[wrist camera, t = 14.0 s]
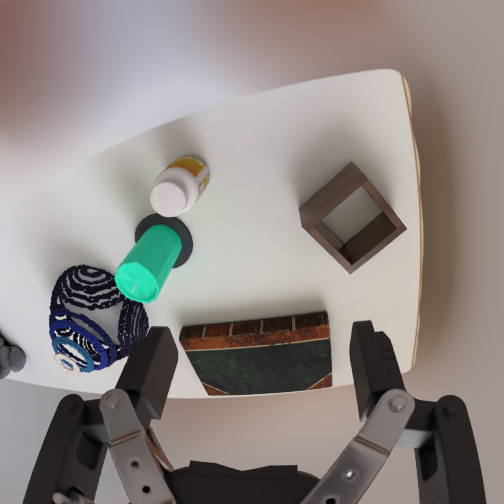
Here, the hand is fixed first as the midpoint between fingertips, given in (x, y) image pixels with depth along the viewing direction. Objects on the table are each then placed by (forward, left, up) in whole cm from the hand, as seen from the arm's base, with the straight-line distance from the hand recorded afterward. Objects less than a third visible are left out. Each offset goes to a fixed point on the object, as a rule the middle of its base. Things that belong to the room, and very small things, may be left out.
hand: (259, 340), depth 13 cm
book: (+23, -25, -30) cm, 45 cm away
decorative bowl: (-5, -41, -30) cm, 51 cm away
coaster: (-4, -19, -29) cm, 35 cm away
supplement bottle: (-7, -8, -30) cm, 31 cm away
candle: (-4, -19, -29) cm, 35 cm away
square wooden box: (+11, +3, -29) cm, 32 cm away
